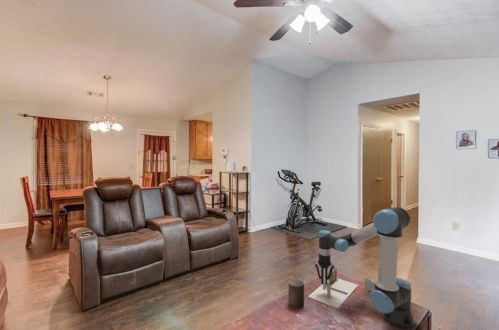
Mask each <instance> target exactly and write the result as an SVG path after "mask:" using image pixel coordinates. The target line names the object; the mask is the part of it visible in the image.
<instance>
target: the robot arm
mask: <svg viewBox="0 0 499 330" xmlns="http://www.w3.org/2000/svg"><path fill="white" fill-rule="evenodd" d="M410 224H411V215H410V213H409V212H408V211H407V209H404V208H403V207H398V206H397V207H392V208H385V209H381V210H379V211H377V212H376V213H375V215H374V216H373V219H372V222H371V223H369V224H368V225H365V226H363V227H361V228H359V229H357V230H354V231H353V232H350V233H348V234H346V235H342V236H341V235H340V236H334V235H332V232H331V231H329V230H327V229H326V230H325V229H324V230H323V229H322V230H320V231H319V232H318V233H319V234H318V260H317V262H314V266H315V268H316V270H317V271H316V272H317V276H318V279H320V284H321V285H322V284H323V290H325V285H327V280H328V279H330V277H331V274H332V271H333V270H334V268H335V265H334V264H333V263H332V262H331V253H332V251H331V249H333V250H336V251H337V252H342V253H345V252H347V250H348V249H349V248H350V247H354V246H357V245H358V244H361V243H363V242H365V241H367V240H369V239H373V238H375V237H377V236H379V243H378V244H379V248H378V265H377V266H378V268H377V279H376V280H374V281H375V284H374V290H373V291H370V294H369V300H370V302H371V304H372V305H373V307H374V308H375V309H376V310H377V311H379V312H381V313H383V317H382V318H383V319H384V320H385V322H387V323H388V324H389V325H391V326H392V327H396V328H399V329H405V330H407V329H408V330H410V329H412V328H414V327H415V318H414V315H413V312H412V285H411V283H410V281H408V280H406V279H403V278H401V277H397V272H398V254H399V253H398V250H399V240H400V239H401V238H402V236H403V229H406V228H407V227H408V226H409V225H410ZM319 267H320V268H321V269H319ZM329 267H330V268H329ZM328 268H329V269H328ZM320 270H321V271H320ZM324 270H325V271H324ZM328 270H329V271H328ZM320 272H321V273H320ZM327 275H328V277H327Z"/></svg>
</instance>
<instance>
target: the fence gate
mask: <svg viewBox="0 0 499 330" xmlns="http://www.w3.org/2000/svg"><path fill="white" fill-rule="evenodd" d="M326 289H327V297H328V298H330V297H331V285H330V284H329V280H327V285H326Z"/></svg>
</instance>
